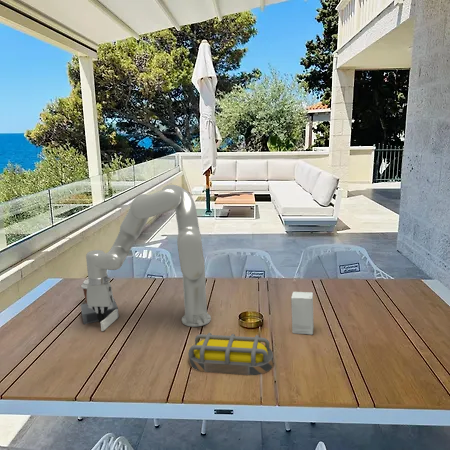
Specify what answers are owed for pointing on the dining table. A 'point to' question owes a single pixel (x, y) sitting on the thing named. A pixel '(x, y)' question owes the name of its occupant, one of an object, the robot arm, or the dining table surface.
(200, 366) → the cage light
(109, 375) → the dining table surface
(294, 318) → the skincare box
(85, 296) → the coffee cup
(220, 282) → the dining table surface
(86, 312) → the gray button box
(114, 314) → the light grey flat bar
